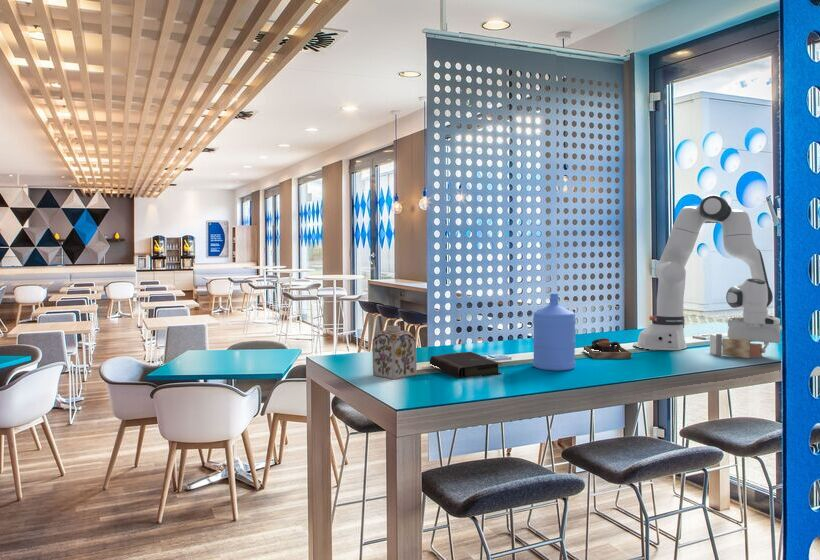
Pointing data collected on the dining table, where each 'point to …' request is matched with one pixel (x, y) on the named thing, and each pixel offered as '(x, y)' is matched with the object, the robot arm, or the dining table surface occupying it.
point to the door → (736, 347)
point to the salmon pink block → (755, 350)
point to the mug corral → (609, 354)
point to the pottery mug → (605, 345)
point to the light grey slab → (716, 344)
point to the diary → (465, 364)
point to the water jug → (554, 337)
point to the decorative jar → (394, 354)
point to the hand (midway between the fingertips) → (754, 352)
